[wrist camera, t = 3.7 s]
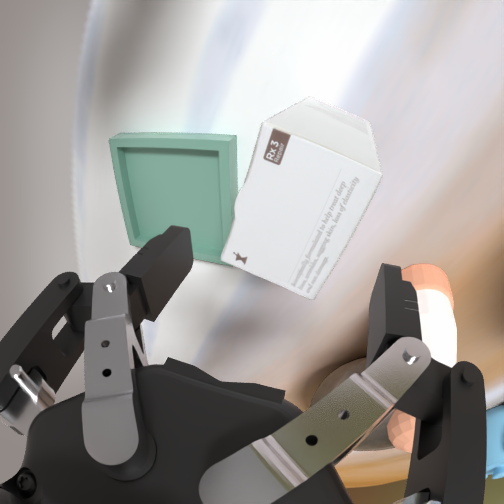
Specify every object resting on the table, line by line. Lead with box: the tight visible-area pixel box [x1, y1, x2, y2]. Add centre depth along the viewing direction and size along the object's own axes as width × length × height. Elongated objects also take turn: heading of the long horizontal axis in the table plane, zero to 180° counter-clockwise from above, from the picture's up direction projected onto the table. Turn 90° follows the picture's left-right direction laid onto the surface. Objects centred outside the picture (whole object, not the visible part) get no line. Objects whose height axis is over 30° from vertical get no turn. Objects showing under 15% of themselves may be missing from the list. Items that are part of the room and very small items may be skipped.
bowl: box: [310, 357, 397, 451], centre depth 38 cm, size 17×18×10 cm
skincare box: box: [221, 97, 383, 300], centre depth 20 cm, size 8×6×15 cm
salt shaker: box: [387, 264, 457, 453], centre depth 24 cm, size 7×7×19 cm
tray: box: [109, 133, 238, 266], centre depth 33 cm, size 14×14×2 cm
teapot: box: [485, 404, 504, 479], centre depth 36 cm, size 19×19×14 cm
